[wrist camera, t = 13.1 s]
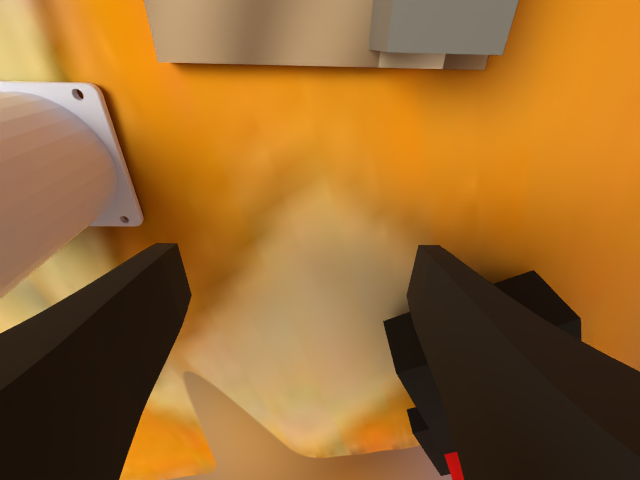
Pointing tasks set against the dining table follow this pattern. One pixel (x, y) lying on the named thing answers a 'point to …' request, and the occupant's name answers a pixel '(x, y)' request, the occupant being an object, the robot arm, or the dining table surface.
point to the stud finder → (441, 26)
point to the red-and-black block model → (420, 382)
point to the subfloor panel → (281, 35)
